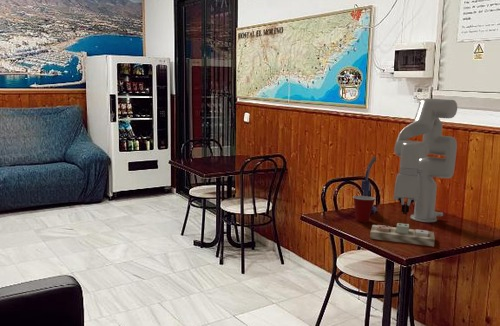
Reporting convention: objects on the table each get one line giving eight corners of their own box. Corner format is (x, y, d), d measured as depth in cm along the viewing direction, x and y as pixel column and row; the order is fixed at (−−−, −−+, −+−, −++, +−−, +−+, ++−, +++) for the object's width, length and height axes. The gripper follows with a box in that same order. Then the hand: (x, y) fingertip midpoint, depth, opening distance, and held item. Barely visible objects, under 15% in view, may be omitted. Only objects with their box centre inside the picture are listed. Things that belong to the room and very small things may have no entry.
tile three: (389, 233, 223) (389, 225, 223) (388, 236, 218) (389, 228, 218) (377, 232, 225) (378, 224, 224) (376, 235, 220) (377, 227, 219)
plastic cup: (372, 218, 251) (374, 194, 249) (375, 224, 240) (377, 199, 238) (350, 217, 252) (351, 193, 250) (352, 222, 241) (354, 198, 239)
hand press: (371, 216, 256) (375, 161, 251) (354, 213, 259) (358, 159, 255) (379, 208, 272) (383, 157, 268) (363, 206, 276) (367, 155, 272)
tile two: (408, 231, 220) (409, 223, 220) (408, 234, 216) (408, 226, 215) (396, 230, 222) (397, 222, 221) (396, 233, 217) (396, 225, 217)
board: (432, 238, 221) (433, 231, 221) (434, 246, 210) (434, 239, 209) (372, 231, 229) (372, 224, 228) (370, 238, 217) (370, 231, 217)
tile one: (427, 238, 218) (427, 230, 218) (427, 241, 214) (428, 233, 213) (415, 236, 220) (415, 228, 219) (415, 240, 215) (415, 231, 215)
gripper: (426, 172, 216) (422, 213, 219) (390, 168, 220) (387, 209, 223) (427, 174, 209) (423, 217, 212) (390, 171, 213) (386, 213, 216)
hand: (404, 213), depth 217 cm, fingers closed
